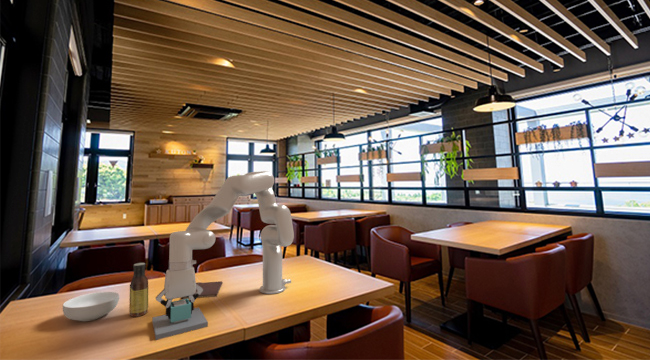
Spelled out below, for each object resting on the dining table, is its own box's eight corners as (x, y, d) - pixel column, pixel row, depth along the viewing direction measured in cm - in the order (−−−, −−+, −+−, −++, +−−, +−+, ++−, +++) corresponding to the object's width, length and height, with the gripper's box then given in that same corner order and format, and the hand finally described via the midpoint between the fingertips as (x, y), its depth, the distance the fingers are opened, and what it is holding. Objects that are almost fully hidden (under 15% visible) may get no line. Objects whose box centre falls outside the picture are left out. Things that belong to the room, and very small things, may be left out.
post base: (198, 311, 113) (199, 292, 114) (207, 326, 100) (208, 304, 101) (152, 321, 104) (152, 301, 105) (155, 340, 91) (156, 316, 91)
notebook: (222, 284, 149) (222, 280, 149) (216, 297, 130) (216, 293, 130) (192, 286, 146) (192, 282, 146) (181, 300, 127) (181, 296, 127)
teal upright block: (187, 311, 107) (188, 298, 107) (191, 317, 102) (191, 303, 102) (168, 316, 103) (169, 302, 103) (171, 322, 98) (171, 308, 98)
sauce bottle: (135, 311, 114) (136, 261, 115) (151, 310, 114) (152, 261, 115) (125, 318, 107) (126, 265, 108) (142, 317, 108) (143, 265, 109)
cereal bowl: (71, 331, 97) (72, 310, 98) (55, 320, 106) (55, 301, 106) (126, 313, 112) (127, 295, 112) (108, 305, 120) (108, 288, 121)
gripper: (203, 260, 111) (202, 306, 110) (152, 266, 101) (151, 317, 101) (207, 263, 105) (207, 312, 104) (154, 271, 95) (152, 325, 94)
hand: (179, 314), depth 102 cm, fingers closed on teal upright block, 6 cm apart
